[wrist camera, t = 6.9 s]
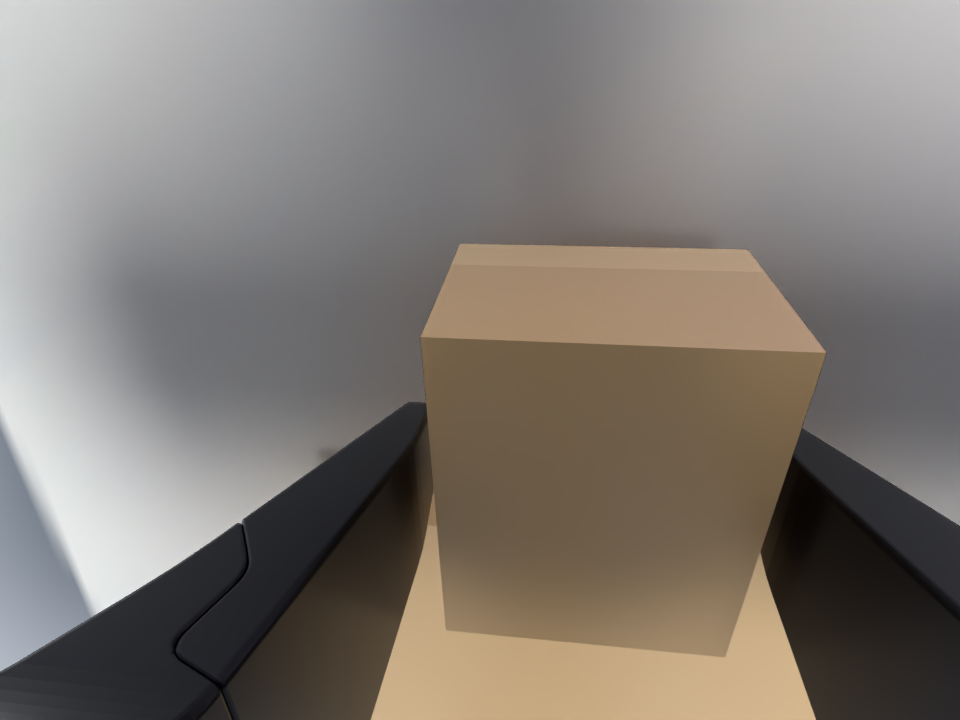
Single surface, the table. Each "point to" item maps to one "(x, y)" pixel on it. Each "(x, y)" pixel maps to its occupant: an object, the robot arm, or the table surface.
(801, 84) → the table surface
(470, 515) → the tan board with handle
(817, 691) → the robot arm
